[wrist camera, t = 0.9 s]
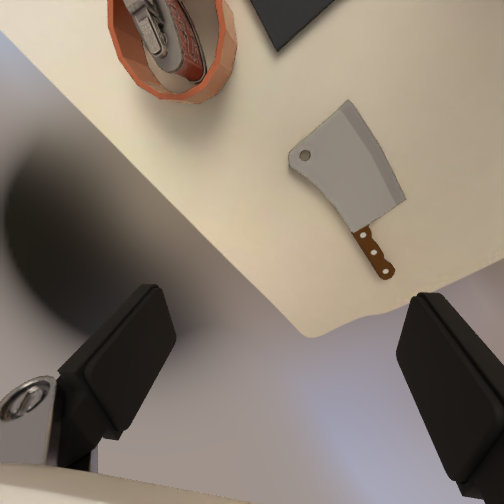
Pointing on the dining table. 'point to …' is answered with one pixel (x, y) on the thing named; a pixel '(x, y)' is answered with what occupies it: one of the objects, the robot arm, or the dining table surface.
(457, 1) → the dining table surface
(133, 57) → the orange hollow ring
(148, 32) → the lighter
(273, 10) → the mat
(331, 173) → the kitchen cleaver
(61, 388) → the robot arm
